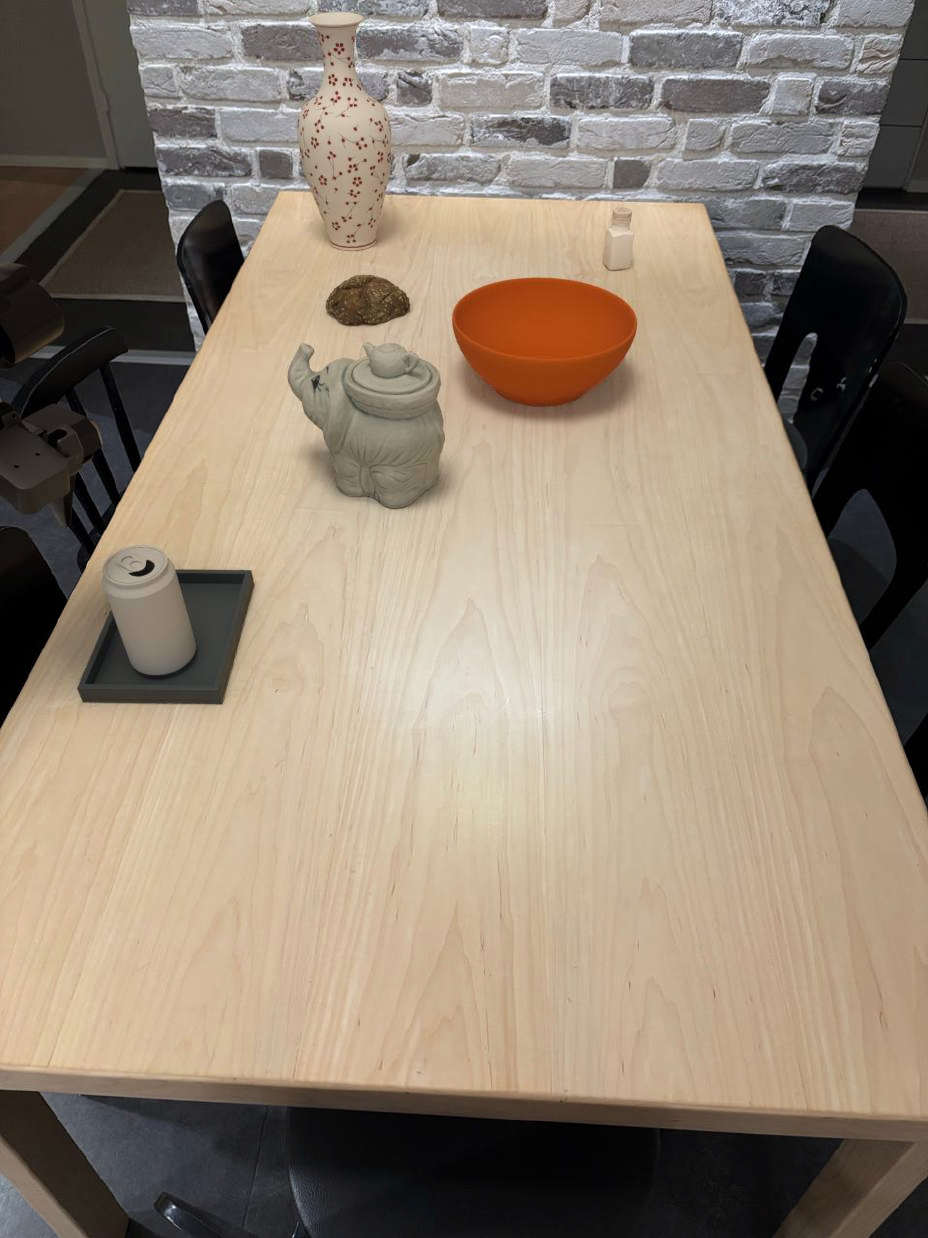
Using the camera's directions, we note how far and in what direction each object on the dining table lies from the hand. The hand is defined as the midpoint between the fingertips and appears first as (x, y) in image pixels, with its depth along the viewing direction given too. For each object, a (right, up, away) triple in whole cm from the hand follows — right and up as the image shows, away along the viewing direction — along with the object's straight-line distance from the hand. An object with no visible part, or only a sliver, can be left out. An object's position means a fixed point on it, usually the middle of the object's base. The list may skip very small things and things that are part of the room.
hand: (24, 551), depth 82 cm
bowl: (+50, +28, +49) cm, 75 cm away
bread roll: (+24, +44, +66) cm, 82 cm away
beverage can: (+10, -10, +8) cm, 16 cm away
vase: (+19, +63, +86) cm, 108 cm away
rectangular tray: (+10, -8, +10) cm, 17 cm away
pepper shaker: (+66, +56, +79) cm, 117 cm away
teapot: (+28, +11, +31) cm, 44 cm away
